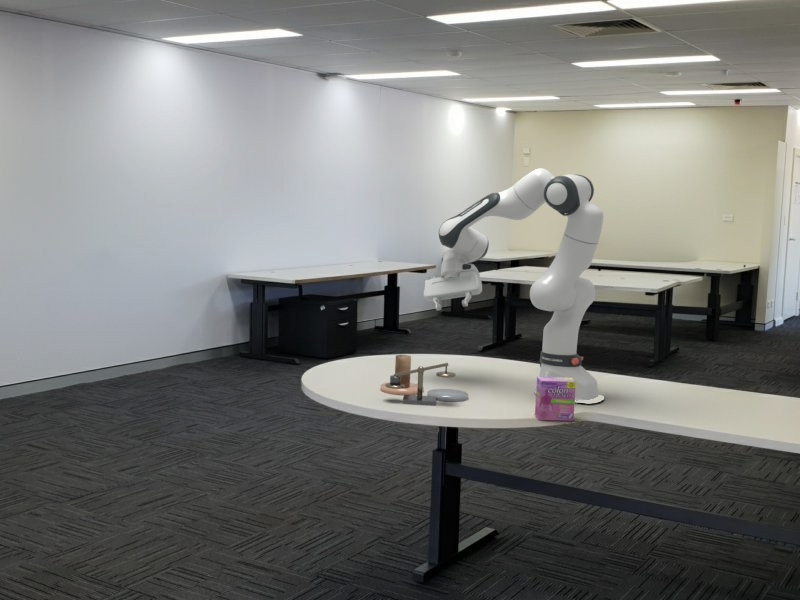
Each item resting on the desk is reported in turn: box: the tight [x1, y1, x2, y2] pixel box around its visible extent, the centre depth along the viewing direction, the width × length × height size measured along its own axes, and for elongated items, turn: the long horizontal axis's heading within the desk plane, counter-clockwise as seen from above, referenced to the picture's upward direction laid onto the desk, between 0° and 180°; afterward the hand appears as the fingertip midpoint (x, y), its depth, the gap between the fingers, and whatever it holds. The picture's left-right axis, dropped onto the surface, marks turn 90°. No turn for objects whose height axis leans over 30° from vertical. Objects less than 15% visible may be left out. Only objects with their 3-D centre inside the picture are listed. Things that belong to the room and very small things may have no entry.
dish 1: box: [380, 382, 425, 396], centre depth 273 cm, size 14×14×1 cm
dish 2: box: [426, 388, 469, 403], centre depth 266 cm, size 13×13×1 cm
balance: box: [385, 362, 457, 406], centre depth 257 cm, size 21×7×13 cm, turn 87°
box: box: [534, 376, 576, 422], centre depth 243 cm, size 10×6×12 cm, turn 92°
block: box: [394, 354, 412, 388], centre depth 272 cm, size 5×5×10 cm
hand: (451, 307), depth 281 cm, fingers open, 8 cm apart
